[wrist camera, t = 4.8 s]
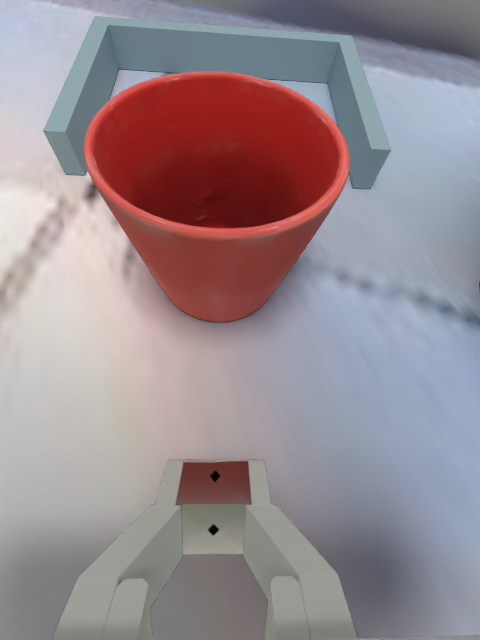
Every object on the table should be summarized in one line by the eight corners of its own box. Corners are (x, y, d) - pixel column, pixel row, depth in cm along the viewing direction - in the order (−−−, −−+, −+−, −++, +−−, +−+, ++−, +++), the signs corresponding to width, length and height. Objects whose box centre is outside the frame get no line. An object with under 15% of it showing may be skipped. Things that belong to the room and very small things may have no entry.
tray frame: (65, 174, 25) (43, 130, 21) (106, 60, 32) (94, 16, 29) (370, 189, 26) (390, 150, 23) (339, 76, 34) (351, 35, 31)
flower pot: (199, 195, 24) (188, 42, 16) (322, 258, 22) (388, 123, 14) (104, 288, 20) (18, 149, 11) (245, 377, 18) (270, 290, 9)
